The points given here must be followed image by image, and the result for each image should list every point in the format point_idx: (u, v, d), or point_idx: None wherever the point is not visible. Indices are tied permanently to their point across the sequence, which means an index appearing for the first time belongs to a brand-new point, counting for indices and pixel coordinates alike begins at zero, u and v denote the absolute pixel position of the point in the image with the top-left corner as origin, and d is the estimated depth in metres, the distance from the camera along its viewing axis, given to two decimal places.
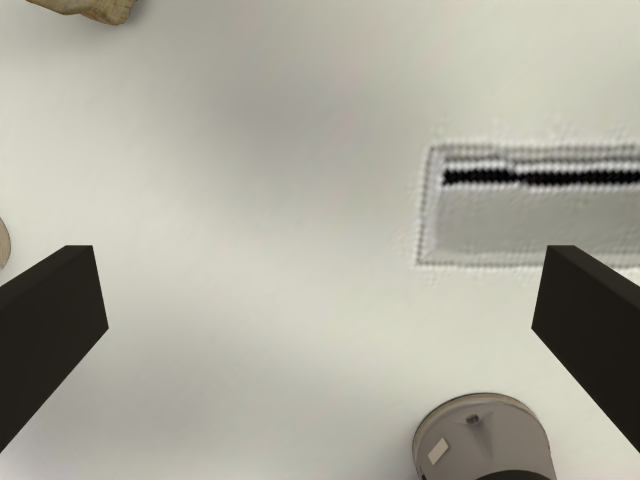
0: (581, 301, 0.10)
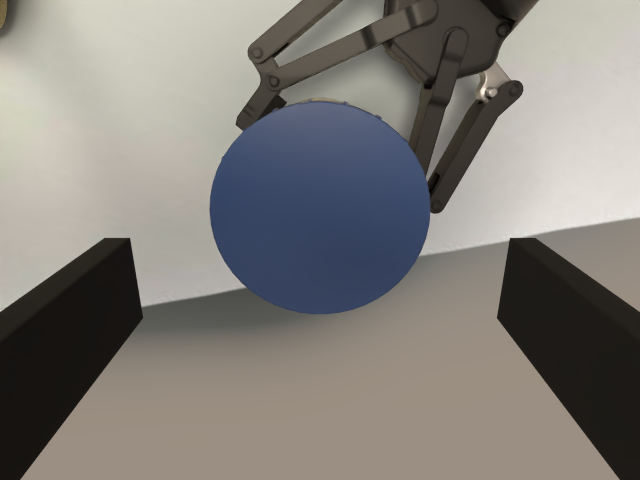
0: (536, 289, 0.11)
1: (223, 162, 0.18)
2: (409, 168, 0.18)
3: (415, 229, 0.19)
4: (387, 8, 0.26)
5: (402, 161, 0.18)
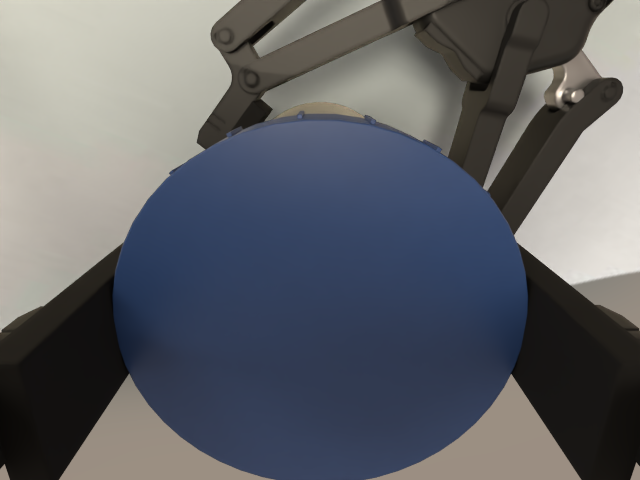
0: None
1: (132, 235, 0.09)
2: (493, 246, 0.09)
3: (497, 352, 0.10)
4: None
5: (480, 234, 0.09)
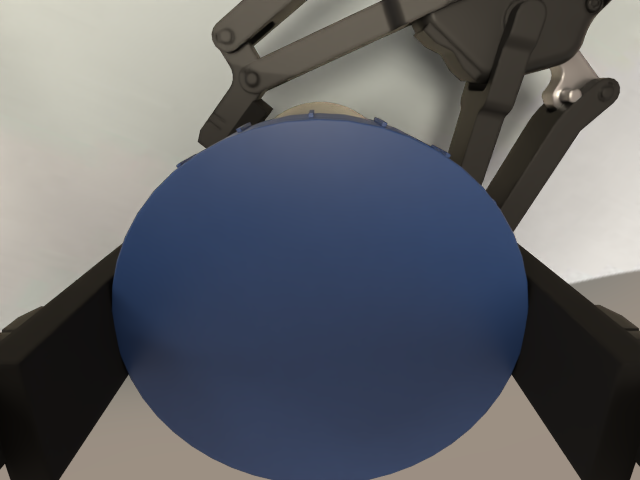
0: None
1: (221, 460, 0.12)
2: (222, 168, 0.09)
3: (357, 151, 0.09)
4: None
5: (209, 183, 0.09)
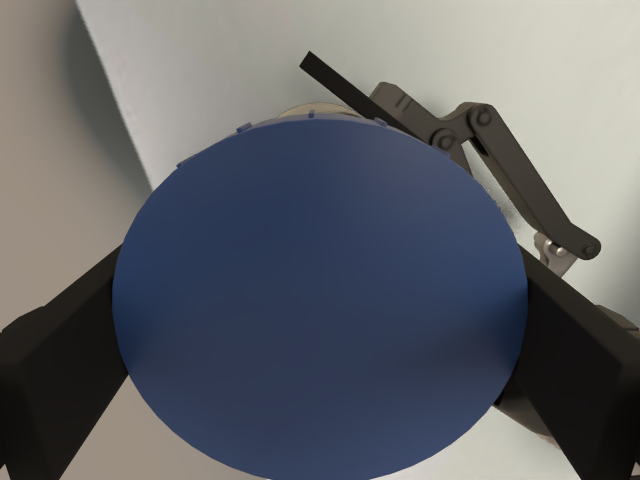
0: None
1: (221, 460, 0.12)
2: (222, 168, 0.09)
3: (357, 151, 0.09)
4: None
5: (209, 182, 0.09)
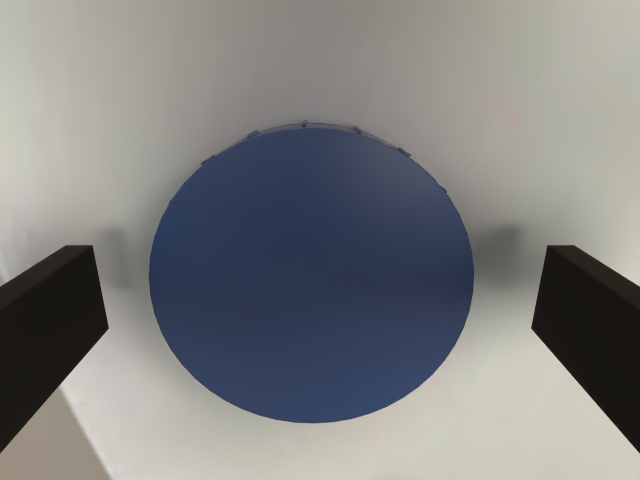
0: (581, 301, 0.10)
1: (233, 402, 0.14)
2: (237, 164, 0.12)
3: (339, 152, 0.12)
4: None
5: (227, 176, 0.12)
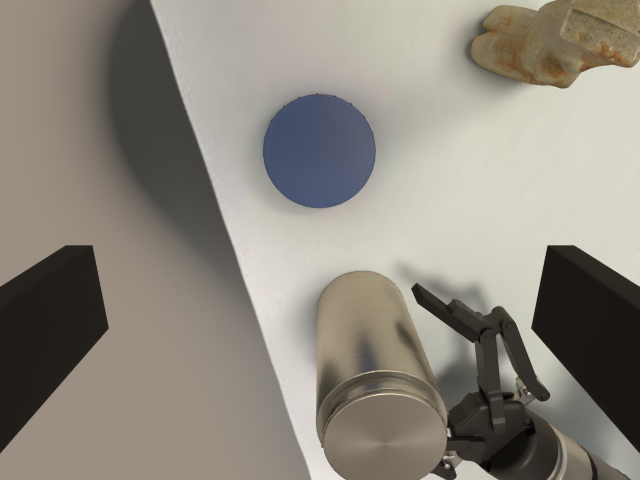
0: (581, 301, 0.10)
1: (290, 198, 0.39)
2: (295, 107, 0.36)
3: (328, 102, 0.36)
4: None
5: (291, 110, 0.36)
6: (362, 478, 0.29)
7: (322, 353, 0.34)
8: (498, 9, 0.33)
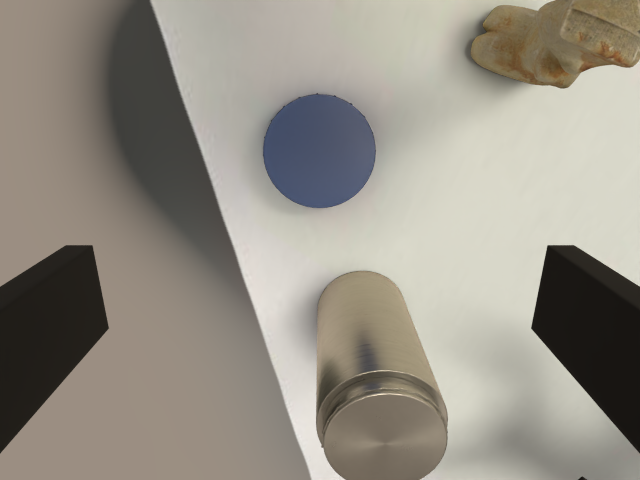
0: (581, 301, 0.10)
1: (290, 198, 0.39)
2: (295, 106, 0.36)
3: (328, 102, 0.36)
4: None
5: (292, 110, 0.36)
6: (362, 478, 0.29)
7: (322, 353, 0.34)
8: (498, 9, 0.33)
